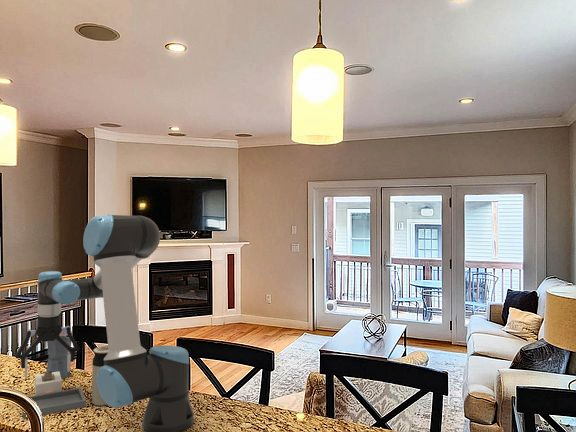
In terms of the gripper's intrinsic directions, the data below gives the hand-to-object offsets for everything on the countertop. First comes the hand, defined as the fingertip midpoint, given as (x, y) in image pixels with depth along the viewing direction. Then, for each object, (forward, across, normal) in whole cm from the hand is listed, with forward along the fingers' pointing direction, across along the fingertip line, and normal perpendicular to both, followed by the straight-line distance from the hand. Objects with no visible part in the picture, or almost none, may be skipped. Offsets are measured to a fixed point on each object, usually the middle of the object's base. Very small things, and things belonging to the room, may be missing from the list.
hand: (47, 373), depth 160 cm
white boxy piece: (+6, 0, 0) cm, 6 cm away
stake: (+6, 0, 0) cm, 6 cm away
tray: (+6, -1, +14) cm, 16 cm away
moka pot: (+7, -4, -16) cm, 18 cm away
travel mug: (+6, -16, +19) cm, 26 cm away
